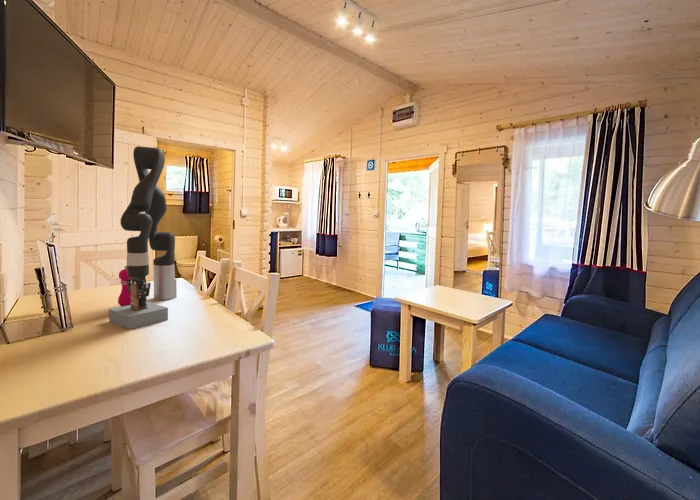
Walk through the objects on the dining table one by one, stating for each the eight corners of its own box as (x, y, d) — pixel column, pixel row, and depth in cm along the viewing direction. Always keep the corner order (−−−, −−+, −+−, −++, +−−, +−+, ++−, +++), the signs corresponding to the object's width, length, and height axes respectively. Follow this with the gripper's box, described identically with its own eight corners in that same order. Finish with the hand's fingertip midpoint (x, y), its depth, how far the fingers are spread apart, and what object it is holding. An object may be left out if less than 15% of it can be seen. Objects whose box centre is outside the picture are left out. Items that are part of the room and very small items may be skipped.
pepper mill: (122, 313, 146) (120, 267, 144) (115, 310, 150) (114, 265, 148) (140, 310, 152) (139, 265, 149) (133, 307, 156) (132, 263, 154)
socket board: (148, 312, 149) (147, 301, 148) (167, 319, 141) (167, 307, 141) (109, 321, 136) (108, 309, 136) (129, 329, 129) (128, 316, 128)
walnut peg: (141, 310, 141) (140, 281, 140) (147, 312, 139) (146, 283, 138) (130, 312, 138) (130, 283, 136) (136, 314, 136) (135, 284, 134)
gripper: (157, 264, 136) (158, 306, 138) (138, 260, 143) (139, 300, 145) (137, 266, 129) (138, 311, 131) (118, 262, 137) (119, 304, 139)
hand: (138, 305), depth 138 cm, fingers closed on walnut peg, 4 cm apart
